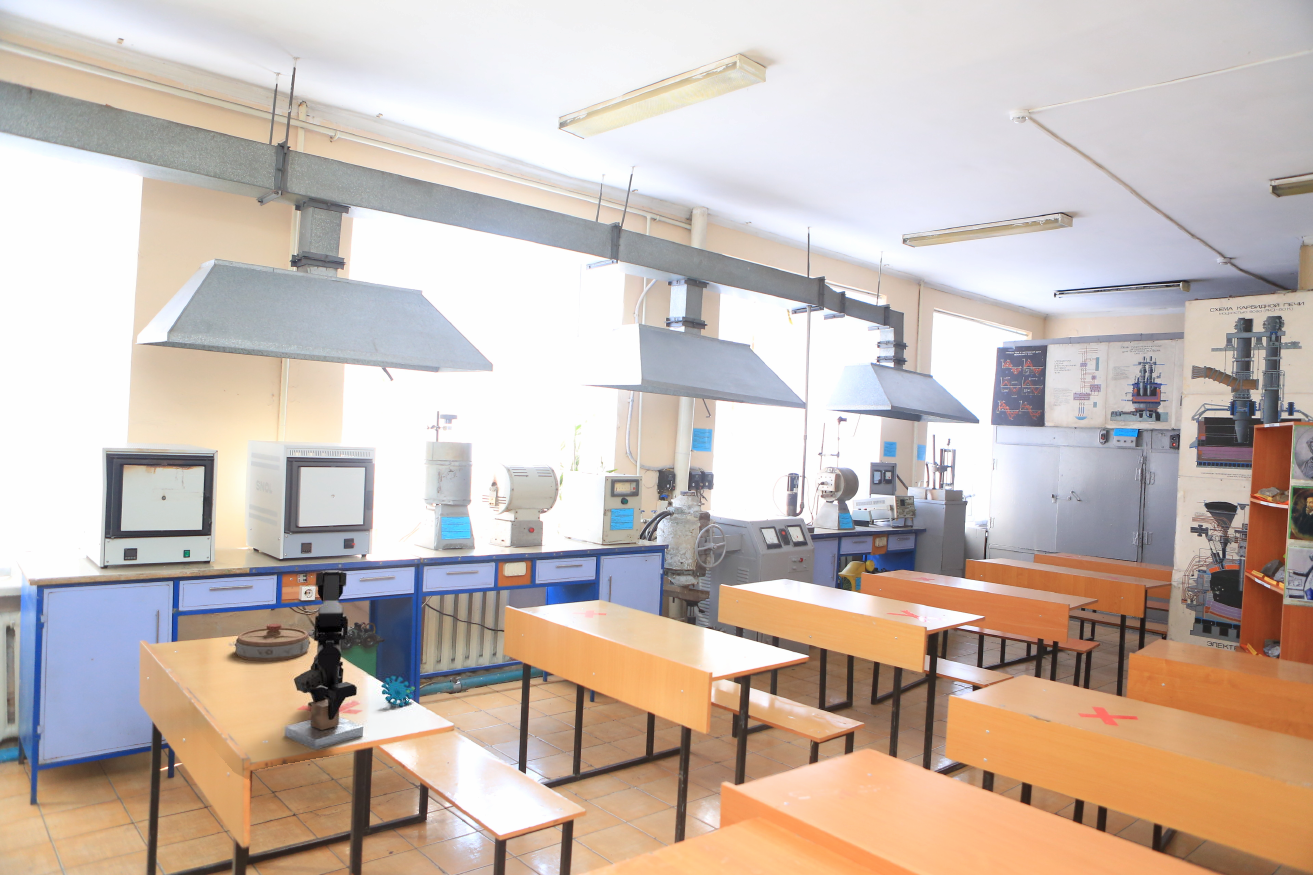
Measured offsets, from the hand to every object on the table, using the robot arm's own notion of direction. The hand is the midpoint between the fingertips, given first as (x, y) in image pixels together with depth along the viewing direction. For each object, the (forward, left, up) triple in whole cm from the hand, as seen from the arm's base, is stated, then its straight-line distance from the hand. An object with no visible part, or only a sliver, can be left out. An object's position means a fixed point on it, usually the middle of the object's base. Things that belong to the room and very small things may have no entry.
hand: (325, 716), depth 223 cm
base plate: (0, 0, -5) cm, 5 cm away
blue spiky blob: (-9, +30, -5) cm, 32 cm away
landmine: (-85, +34, -6) cm, 92 cm away
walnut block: (0, 0, -2) cm, 2 cm away
